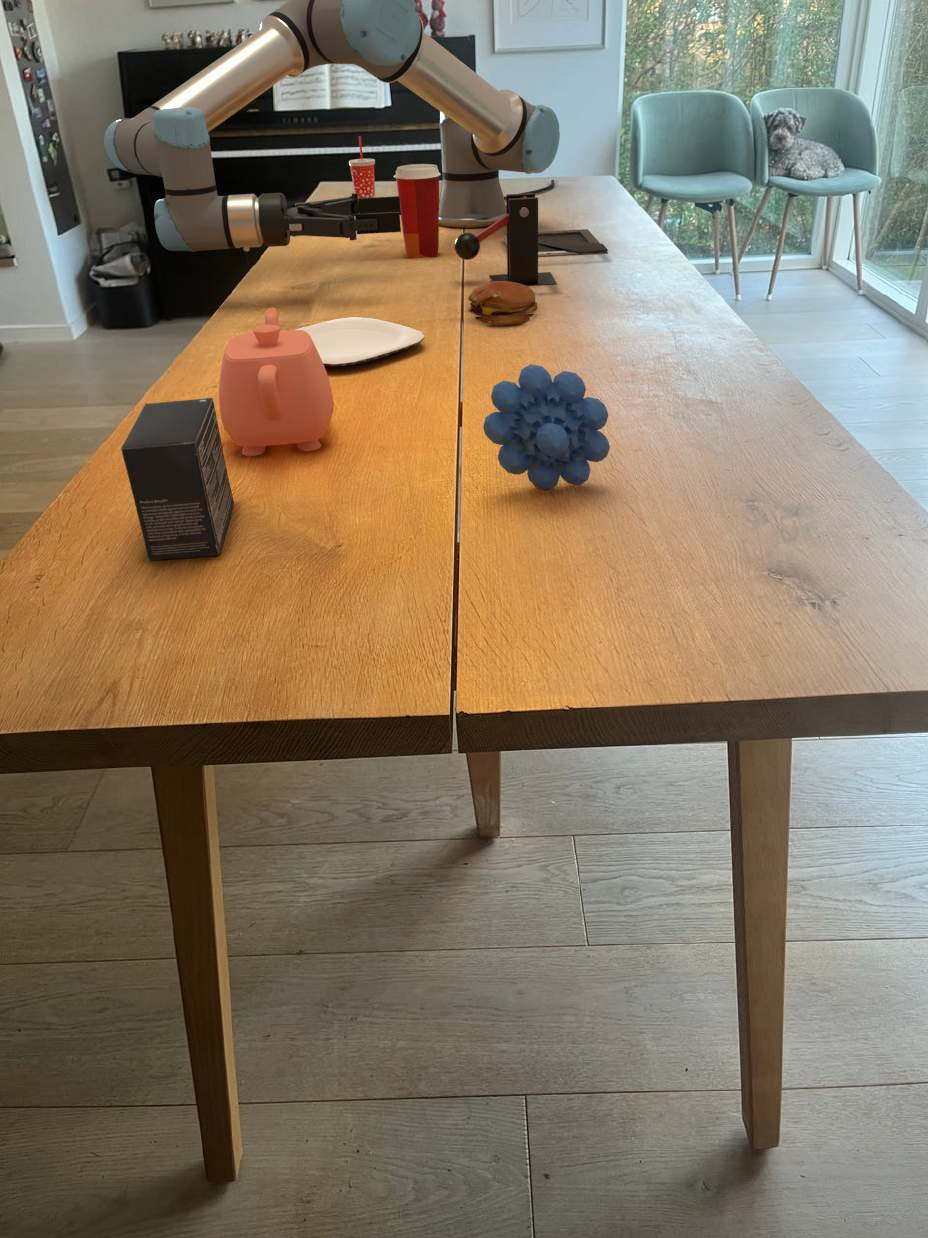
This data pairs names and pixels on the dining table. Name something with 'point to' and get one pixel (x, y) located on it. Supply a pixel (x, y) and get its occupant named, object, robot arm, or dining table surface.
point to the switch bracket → (523, 243)
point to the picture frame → (568, 243)
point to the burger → (502, 302)
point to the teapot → (274, 389)
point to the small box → (179, 479)
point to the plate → (359, 340)
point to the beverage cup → (363, 175)
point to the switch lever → (476, 239)
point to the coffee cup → (419, 209)
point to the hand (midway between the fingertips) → (400, 213)
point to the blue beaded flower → (547, 427)
